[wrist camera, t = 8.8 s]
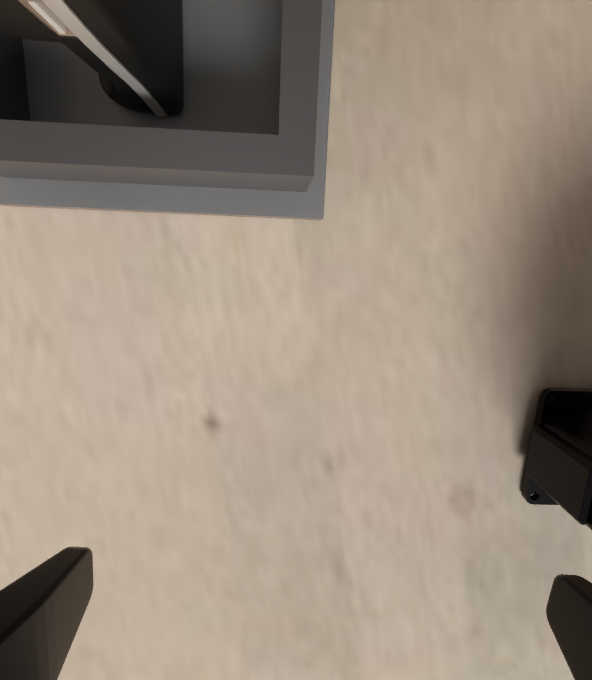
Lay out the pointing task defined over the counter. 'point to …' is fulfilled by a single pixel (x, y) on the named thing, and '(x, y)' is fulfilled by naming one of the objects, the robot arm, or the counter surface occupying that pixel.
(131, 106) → the battery charger
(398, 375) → the counter surface
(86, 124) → the dock
